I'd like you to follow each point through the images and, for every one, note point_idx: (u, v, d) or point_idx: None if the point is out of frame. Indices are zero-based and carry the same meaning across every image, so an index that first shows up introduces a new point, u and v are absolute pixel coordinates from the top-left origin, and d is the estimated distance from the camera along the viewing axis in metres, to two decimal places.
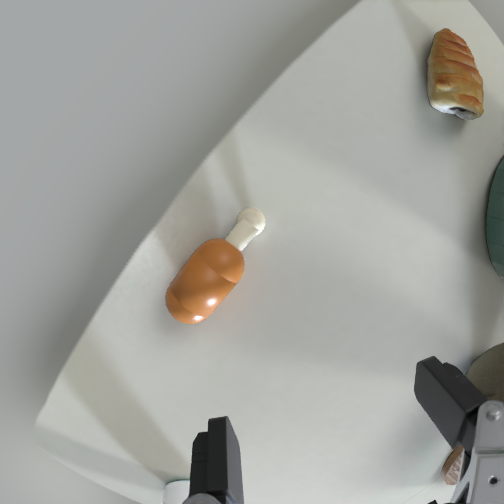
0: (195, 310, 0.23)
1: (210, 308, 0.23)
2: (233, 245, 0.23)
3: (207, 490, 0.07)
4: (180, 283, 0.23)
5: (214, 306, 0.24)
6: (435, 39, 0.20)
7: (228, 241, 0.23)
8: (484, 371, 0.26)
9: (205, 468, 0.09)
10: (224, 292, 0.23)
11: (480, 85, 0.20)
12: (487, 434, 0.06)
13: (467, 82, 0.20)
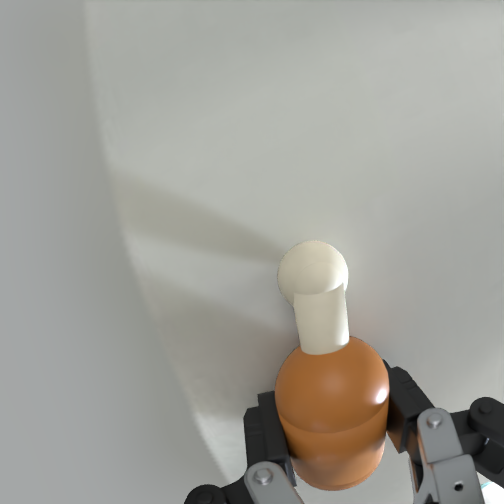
0: (359, 474, 0.09)
1: (380, 450, 0.09)
2: (326, 354, 0.09)
3: (268, 459, 0.08)
4: (302, 466, 0.09)
5: (383, 441, 0.09)
6: None
7: (311, 353, 0.09)
8: None
9: (260, 440, 0.10)
10: (382, 423, 0.09)
11: None
12: (423, 442, 0.07)
13: None
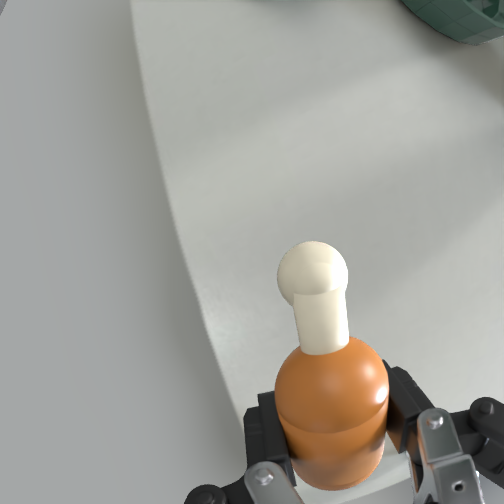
0: (359, 474, 0.09)
1: (379, 450, 0.09)
2: (326, 354, 0.09)
3: (268, 459, 0.08)
4: (302, 466, 0.09)
5: (382, 441, 0.09)
6: None
7: (311, 354, 0.09)
8: None
9: (260, 440, 0.10)
10: (382, 423, 0.09)
11: None
12: (423, 442, 0.07)
13: None
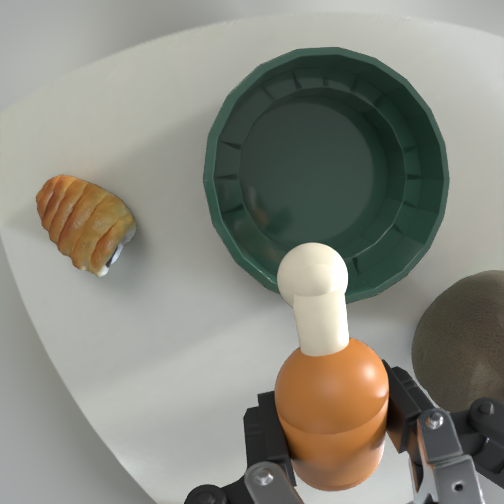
0: (359, 475, 0.09)
1: (379, 451, 0.09)
2: (326, 355, 0.09)
3: (268, 459, 0.08)
4: (301, 467, 0.09)
5: (382, 442, 0.09)
6: None
7: (311, 355, 0.09)
8: (414, 367, 0.25)
9: (260, 440, 0.10)
10: (382, 424, 0.09)
11: (91, 215, 0.21)
12: (423, 442, 0.07)
13: (80, 243, 0.21)
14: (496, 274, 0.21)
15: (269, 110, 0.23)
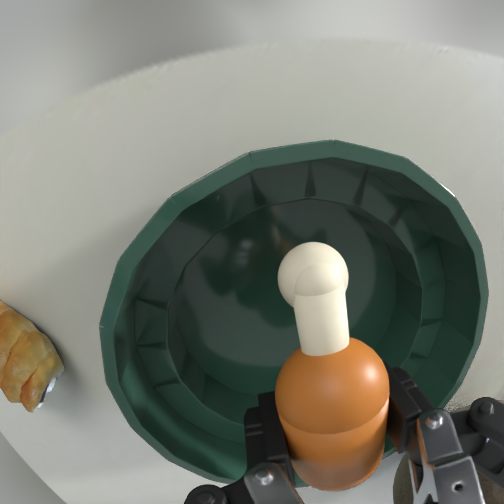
0: (360, 475, 0.09)
1: (380, 451, 0.09)
2: (327, 355, 0.09)
3: (268, 459, 0.08)
4: (302, 466, 0.09)
5: (383, 442, 0.09)
6: None
7: (312, 355, 0.09)
8: (393, 497, 0.18)
9: (260, 440, 0.10)
10: (382, 424, 0.09)
11: (7, 359, 0.14)
12: (423, 442, 0.07)
13: (5, 386, 0.14)
14: None
15: None
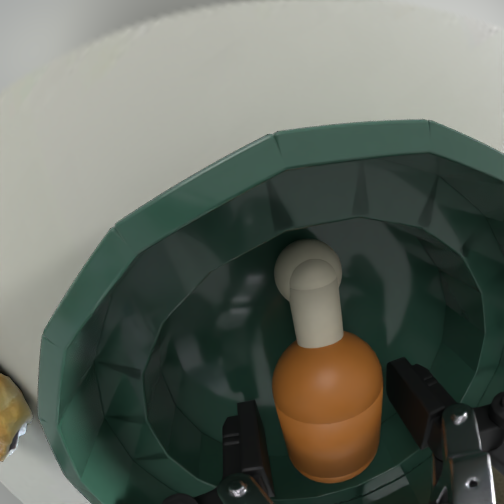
0: (355, 467, 0.09)
1: (375, 443, 0.10)
2: (321, 347, 0.09)
3: (242, 470, 0.08)
4: (299, 458, 0.10)
5: (378, 434, 0.10)
6: None
7: (307, 347, 0.10)
8: None
9: (237, 450, 0.09)
10: (377, 416, 0.09)
11: None
12: (449, 437, 0.07)
13: None
14: None
15: None
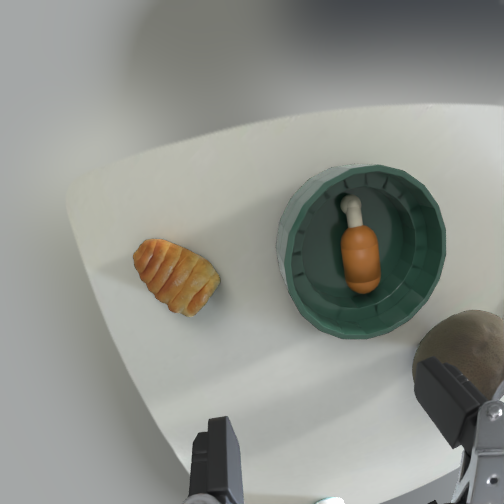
0: (373, 277, 0.31)
1: (378, 268, 0.31)
2: (357, 226, 0.31)
3: (207, 490, 0.07)
4: (352, 273, 0.31)
5: (379, 265, 0.31)
6: None
7: (352, 227, 0.31)
8: (413, 378, 0.34)
9: (205, 468, 0.09)
10: (377, 253, 0.30)
11: (189, 276, 0.31)
12: (487, 434, 0.06)
13: (180, 296, 0.31)
14: (476, 315, 0.29)
15: None
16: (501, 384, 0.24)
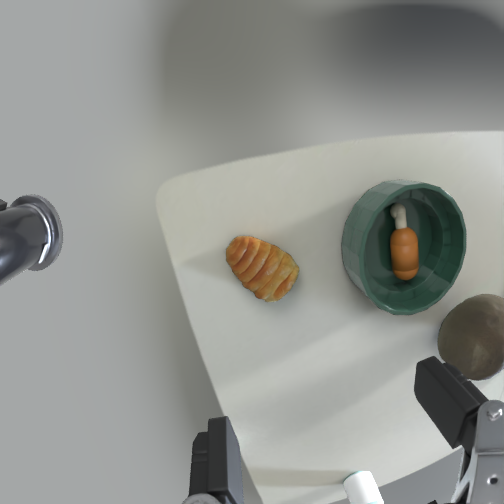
0: (415, 267, 0.38)
1: (418, 260, 0.39)
2: (403, 228, 0.38)
3: (207, 490, 0.07)
4: (400, 264, 0.39)
5: (418, 257, 0.39)
6: (230, 266, 0.39)
7: (400, 228, 0.38)
8: (439, 350, 0.42)
9: (205, 468, 0.09)
10: (417, 248, 0.38)
11: (278, 266, 0.38)
12: (487, 434, 0.06)
13: (270, 284, 0.38)
14: (487, 297, 0.37)
15: None
16: None
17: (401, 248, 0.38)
